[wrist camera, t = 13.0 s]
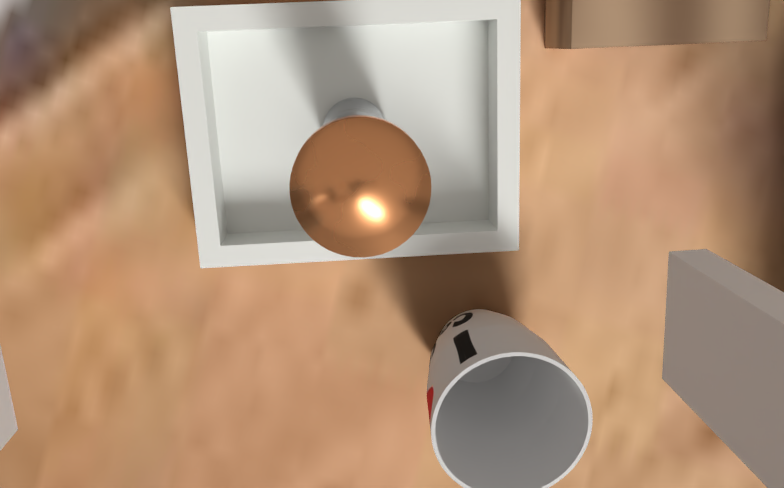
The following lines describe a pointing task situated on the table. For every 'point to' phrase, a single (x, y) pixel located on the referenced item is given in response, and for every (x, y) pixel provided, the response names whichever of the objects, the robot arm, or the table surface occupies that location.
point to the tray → (338, 82)
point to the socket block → (653, 22)
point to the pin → (359, 182)
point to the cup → (503, 405)
